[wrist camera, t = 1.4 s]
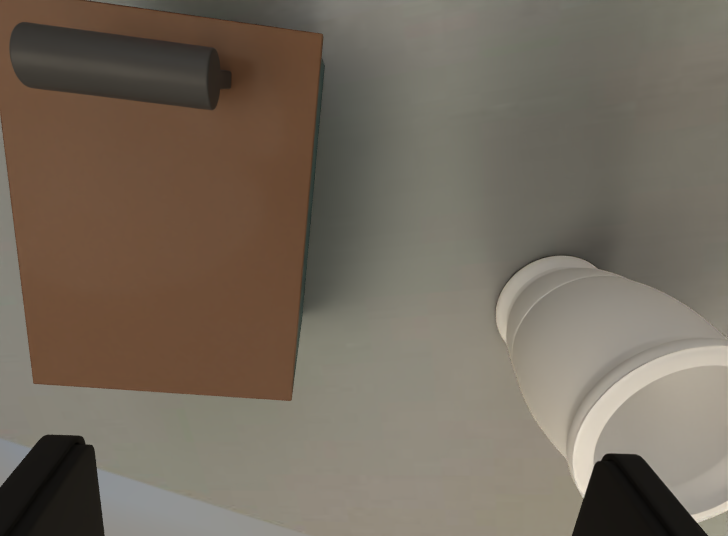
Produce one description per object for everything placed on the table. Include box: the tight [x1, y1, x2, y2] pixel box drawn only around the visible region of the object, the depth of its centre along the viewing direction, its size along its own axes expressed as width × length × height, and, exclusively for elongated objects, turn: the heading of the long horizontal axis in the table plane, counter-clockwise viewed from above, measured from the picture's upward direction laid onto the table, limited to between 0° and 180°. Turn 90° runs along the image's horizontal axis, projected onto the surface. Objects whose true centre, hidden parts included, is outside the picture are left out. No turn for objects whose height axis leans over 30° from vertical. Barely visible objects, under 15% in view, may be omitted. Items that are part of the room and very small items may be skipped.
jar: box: [496, 256, 728, 523], centre depth 29 cm, size 11×10×15 cm
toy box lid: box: [0, 0, 323, 401], centre depth 20 cm, size 18×13×6 cm
